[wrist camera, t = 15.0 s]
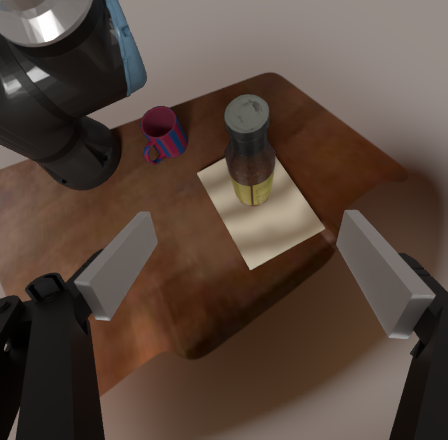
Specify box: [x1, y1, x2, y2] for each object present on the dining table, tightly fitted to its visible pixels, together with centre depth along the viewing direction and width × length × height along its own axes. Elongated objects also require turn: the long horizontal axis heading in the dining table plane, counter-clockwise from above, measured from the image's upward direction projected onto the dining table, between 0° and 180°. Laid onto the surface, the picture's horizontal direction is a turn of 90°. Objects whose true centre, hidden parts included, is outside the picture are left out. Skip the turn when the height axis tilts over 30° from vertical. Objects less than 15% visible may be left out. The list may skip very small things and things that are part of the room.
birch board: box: [197, 156, 325, 270], centre depth 38 cm, size 20×14×2 cm
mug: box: [140, 106, 187, 165], centre depth 41 cm, size 7×10×7 cm
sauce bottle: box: [224, 94, 276, 207], centre depth 28 cm, size 7×6×20 cm
